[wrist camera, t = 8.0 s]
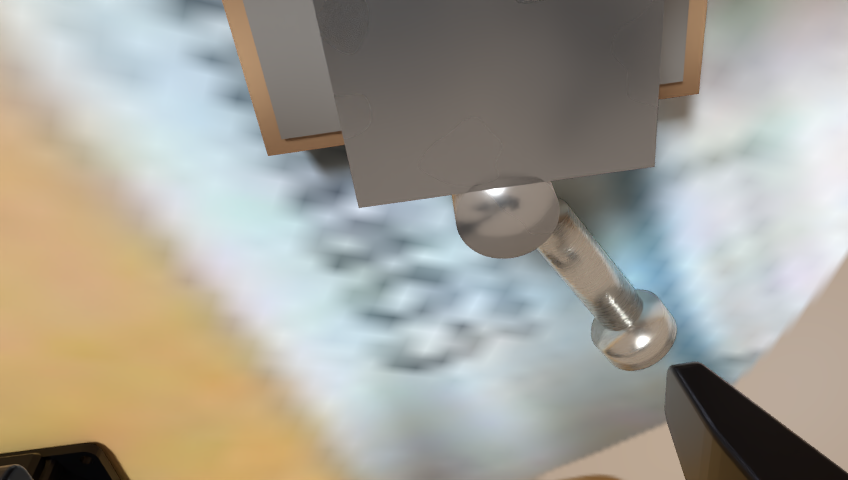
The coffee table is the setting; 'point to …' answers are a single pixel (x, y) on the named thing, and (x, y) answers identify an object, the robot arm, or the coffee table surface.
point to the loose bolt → (609, 297)
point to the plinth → (310, 82)
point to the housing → (492, 103)
